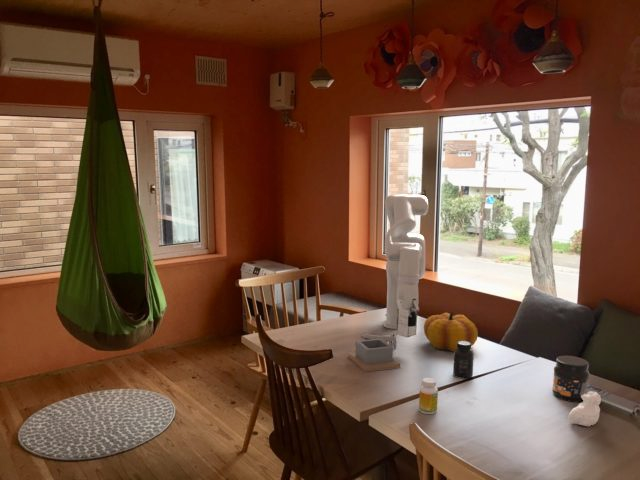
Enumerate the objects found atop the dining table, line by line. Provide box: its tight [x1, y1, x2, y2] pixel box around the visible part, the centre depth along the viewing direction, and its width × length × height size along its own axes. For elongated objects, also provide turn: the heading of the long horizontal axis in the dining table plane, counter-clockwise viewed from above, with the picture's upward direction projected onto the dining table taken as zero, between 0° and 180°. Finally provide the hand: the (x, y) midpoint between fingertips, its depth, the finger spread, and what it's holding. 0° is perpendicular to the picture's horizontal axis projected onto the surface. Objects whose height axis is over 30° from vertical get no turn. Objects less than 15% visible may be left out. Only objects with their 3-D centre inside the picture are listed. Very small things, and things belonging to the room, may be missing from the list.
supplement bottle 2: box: [452, 341, 475, 380], centre depth 195 cm, size 7×7×12 cm
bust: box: [567, 390, 602, 427], centre depth 160 cm, size 12×8×11 cm
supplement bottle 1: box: [418, 377, 439, 415], centre depth 167 cm, size 5×5×10 cm
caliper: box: [360, 333, 398, 350], centre depth 229 cm, size 20×1×6 cm, turn 38°
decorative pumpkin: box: [423, 311, 479, 353], centre depth 225 cm, size 20×22×15 cm
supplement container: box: [552, 355, 590, 402], centre depth 179 cm, size 10×10×12 cm
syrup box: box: [395, 299, 418, 339], centre depth 213 cm, size 6×6×14 cm
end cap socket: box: [348, 339, 401, 373], centre depth 207 cm, size 16×14×7 cm
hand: (406, 322), depth 214 cm, fingers closed on syrup box, 7 cm apart
